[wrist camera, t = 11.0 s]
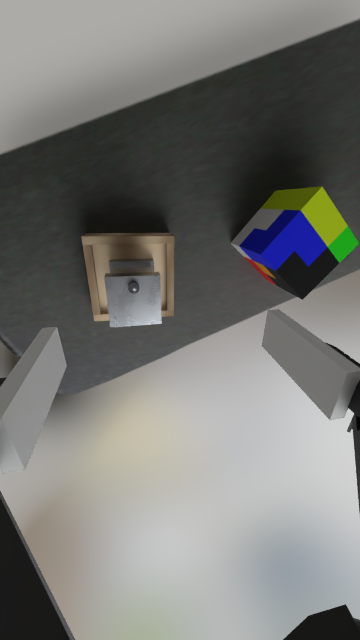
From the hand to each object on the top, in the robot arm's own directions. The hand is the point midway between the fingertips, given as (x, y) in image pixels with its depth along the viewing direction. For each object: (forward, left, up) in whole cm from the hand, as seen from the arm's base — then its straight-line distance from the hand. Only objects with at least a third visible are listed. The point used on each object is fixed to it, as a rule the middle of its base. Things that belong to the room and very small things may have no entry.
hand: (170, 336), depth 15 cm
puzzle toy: (-21, -3, -25) cm, 33 cm away
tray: (+2, +2, -25) cm, 25 cm away
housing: (+2, +3, -22) cm, 22 cm away
